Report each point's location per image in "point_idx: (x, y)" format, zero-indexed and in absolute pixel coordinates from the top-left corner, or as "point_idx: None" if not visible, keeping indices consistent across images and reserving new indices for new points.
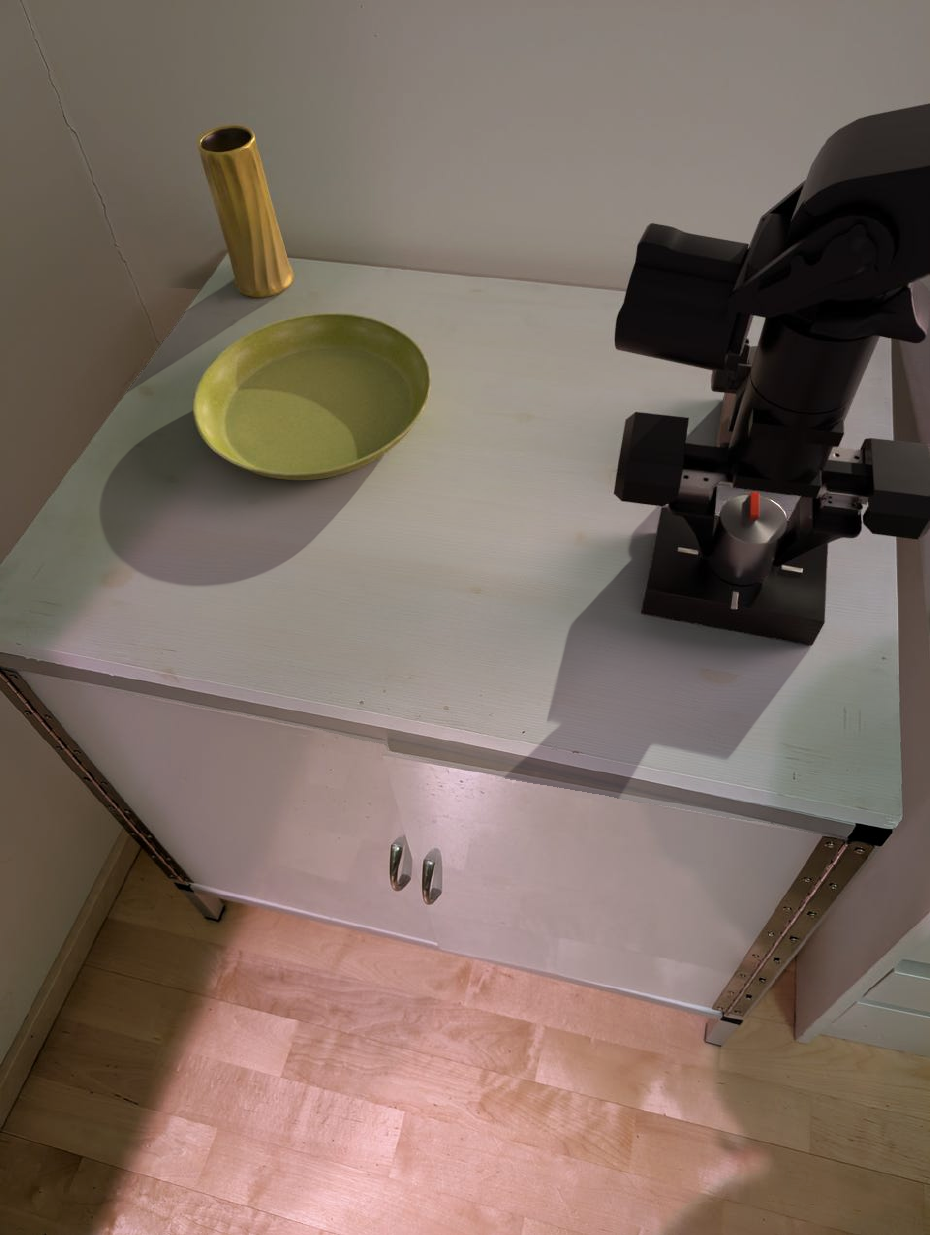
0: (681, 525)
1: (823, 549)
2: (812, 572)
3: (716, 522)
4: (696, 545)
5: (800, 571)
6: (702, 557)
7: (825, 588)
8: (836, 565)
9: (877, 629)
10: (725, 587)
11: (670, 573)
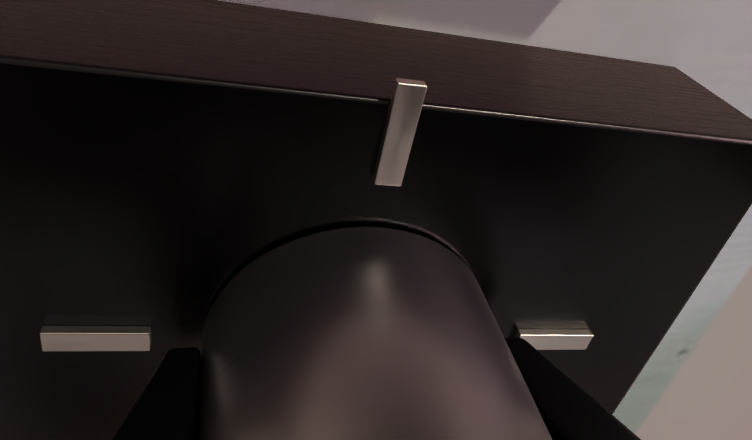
0: (17, 187)
1: (719, 229)
2: (623, 330)
3: (238, 140)
4: (138, 292)
5: (581, 346)
6: (178, 347)
7: (636, 373)
8: (731, 84)
9: (715, 288)
10: None
11: (42, 429)
